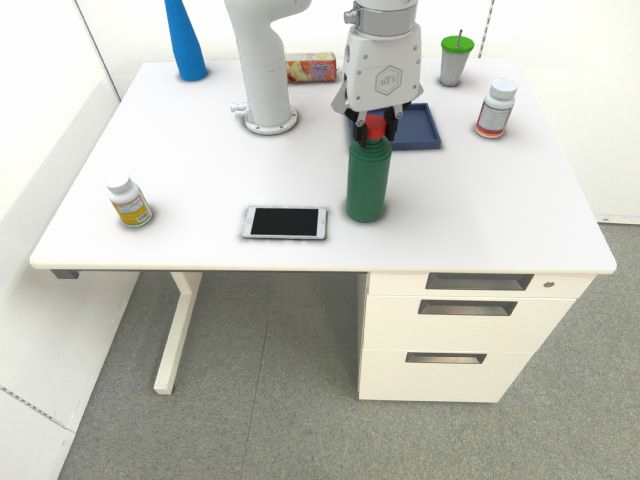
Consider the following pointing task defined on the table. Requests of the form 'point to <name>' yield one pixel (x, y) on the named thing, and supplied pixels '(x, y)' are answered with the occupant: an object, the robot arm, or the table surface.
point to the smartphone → (285, 223)
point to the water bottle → (367, 179)
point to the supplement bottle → (128, 200)
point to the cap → (375, 126)
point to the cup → (454, 58)
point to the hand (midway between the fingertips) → (374, 138)
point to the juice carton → (310, 66)
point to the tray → (411, 128)
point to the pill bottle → (496, 108)
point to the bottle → (184, 42)
